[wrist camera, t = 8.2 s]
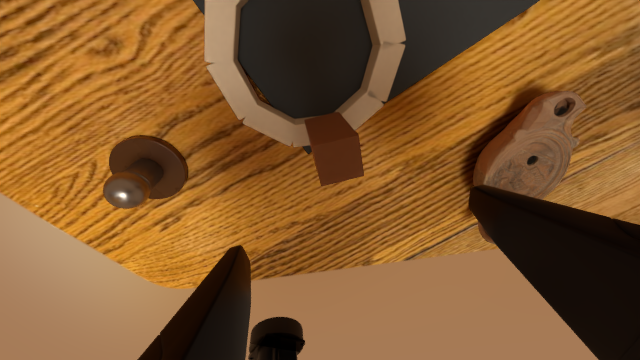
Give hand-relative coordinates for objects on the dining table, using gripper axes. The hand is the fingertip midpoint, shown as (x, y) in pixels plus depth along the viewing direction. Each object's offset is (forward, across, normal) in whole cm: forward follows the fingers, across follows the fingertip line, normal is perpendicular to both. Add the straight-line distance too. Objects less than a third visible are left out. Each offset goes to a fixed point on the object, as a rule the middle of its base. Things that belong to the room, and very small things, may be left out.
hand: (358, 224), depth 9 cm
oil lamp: (+11, -16, +7) cm, 20 cm away
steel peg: (+11, +13, 0) cm, 17 cm away
